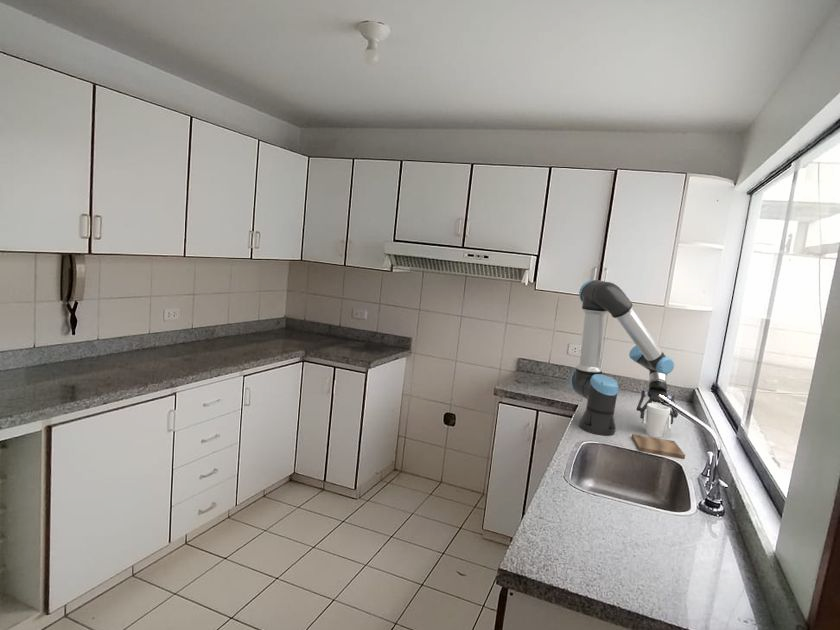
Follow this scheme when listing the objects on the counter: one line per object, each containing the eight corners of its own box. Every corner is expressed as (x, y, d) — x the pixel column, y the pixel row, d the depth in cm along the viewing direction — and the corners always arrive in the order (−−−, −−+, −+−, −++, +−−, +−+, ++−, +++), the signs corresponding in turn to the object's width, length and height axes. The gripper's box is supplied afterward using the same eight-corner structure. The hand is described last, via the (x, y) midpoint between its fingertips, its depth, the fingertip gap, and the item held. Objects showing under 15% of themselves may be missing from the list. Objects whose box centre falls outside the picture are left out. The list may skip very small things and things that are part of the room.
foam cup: (667, 440, 222) (672, 411, 221) (645, 436, 224) (650, 407, 222) (662, 432, 232) (667, 405, 230) (640, 429, 233) (645, 401, 232)
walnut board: (639, 450, 206) (639, 447, 206) (631, 437, 221) (632, 433, 221) (684, 458, 203) (685, 455, 202) (673, 444, 218) (674, 441, 218)
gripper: (682, 392, 237) (681, 436, 224) (631, 384, 243) (628, 426, 231) (686, 384, 231) (686, 428, 218) (633, 375, 238) (630, 418, 225)
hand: (656, 427), depth 224 cm, fingers closed on foam cup, 9 cm apart
